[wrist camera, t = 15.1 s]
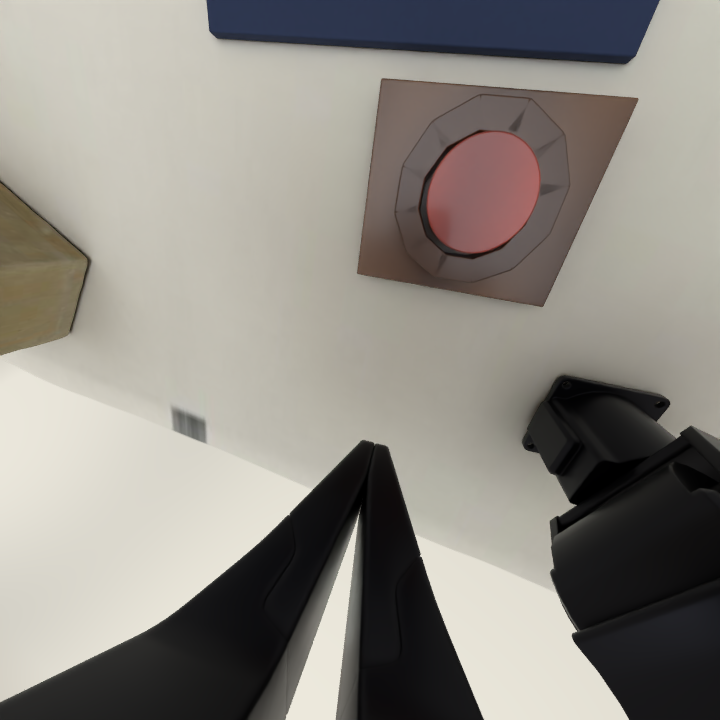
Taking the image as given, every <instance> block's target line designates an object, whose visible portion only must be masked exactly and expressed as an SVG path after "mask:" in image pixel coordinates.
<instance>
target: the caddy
mask: <svg viewBox="0 0 720 720" xmlns="http://www.w3.org/2000/svg"><path fill="white" fill-rule="evenodd" d="M86 268H87V258H86V257H85V256H84V255H83V254H82V253H81V252H80V251H78V250H77V249H76V248H75V247H74V246H73V245H72V244H70V243H69V242H68V241H67V240H66V239H65V238H64V237H62V236H61V235H60V234H59V233H58V232H57V231H56V230H55V229H54V228H52V227H51V226H50V225H49V224H48V223H47V222H45V221H44V220H43V219H42V218H41V217H39V216H38V215H37V214H36V213H34V212H33V211H32V210H31V209H30V208H29V207H27V206H26V205H25V204H24V203H23V202H22V201H21V200H20V199H18V198H17V197H16V196H15V195H14V194H13V193H12V192H10V191H9V190H8V189H7V188H6V187H5V186H4V185H3V184H1V183H0V355H3V354H7V353H10V352H13V351H16V350H20V349H24V348H29V347H33V346H37V345H40V344H44V343H47V342H50V341H54V340H57V339H60V338H63V337H65V336H67V335H68V334H69V331H70V327H71V324H72V321H73V317H74V314H75V310H76V306H77V302H78V297H79V293H80V290H81V287H82V284H83V280H84V275H85V272H86Z"/></svg>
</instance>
